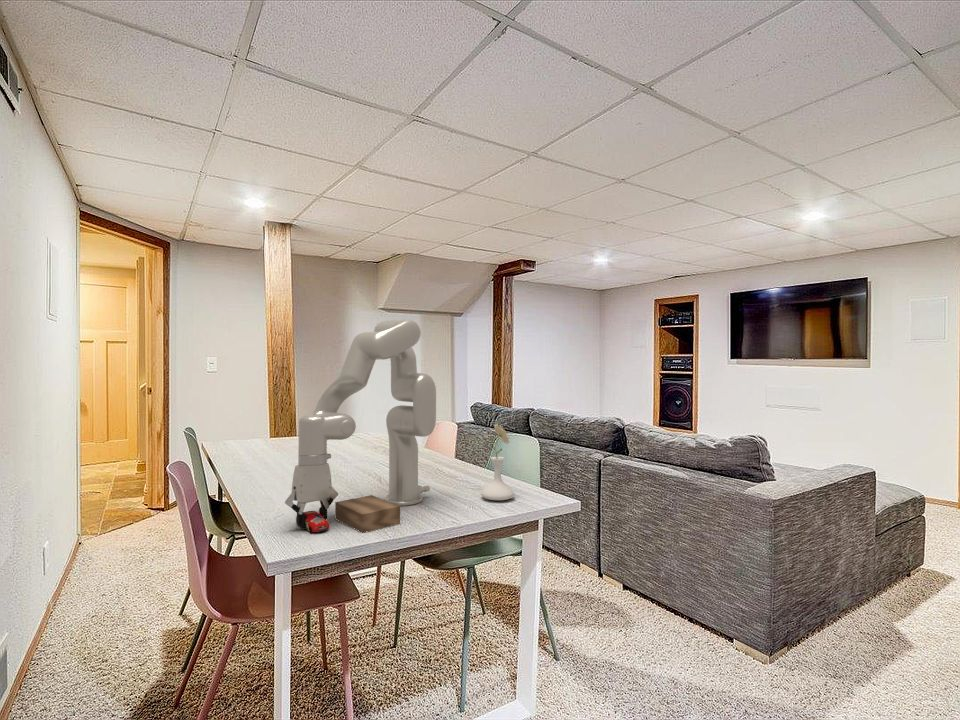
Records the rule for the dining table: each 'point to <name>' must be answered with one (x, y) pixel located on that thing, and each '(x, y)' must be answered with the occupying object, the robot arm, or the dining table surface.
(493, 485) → the flower in vase
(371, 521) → the walnut riser block
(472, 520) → the dining table surface
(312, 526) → the race car
